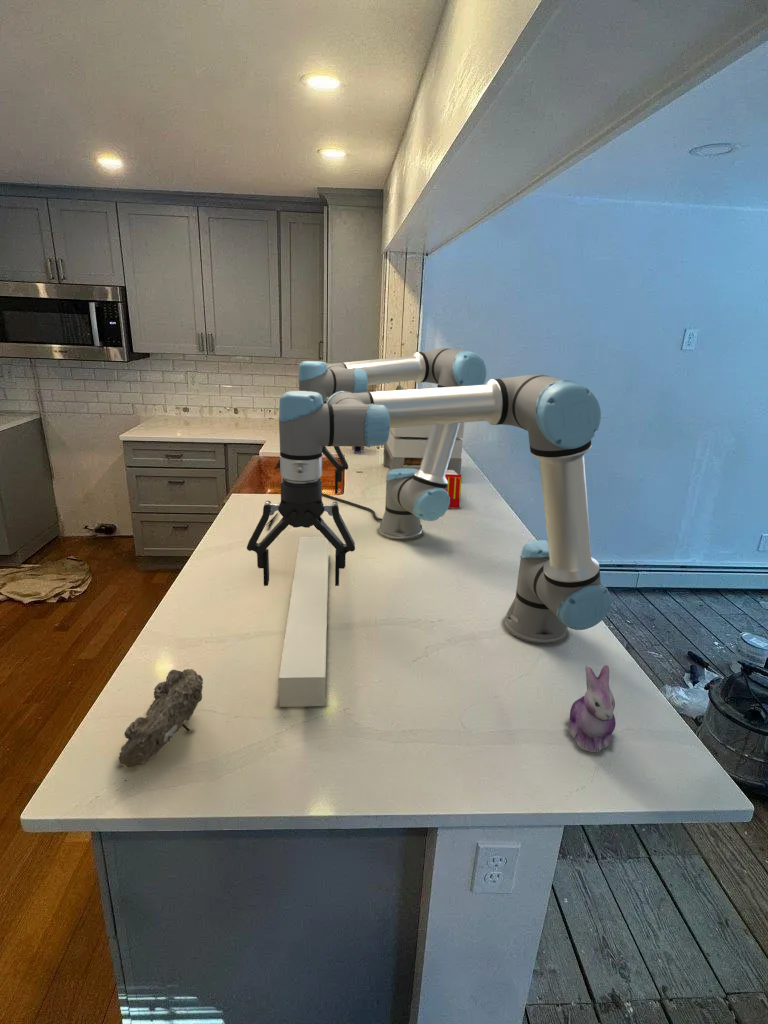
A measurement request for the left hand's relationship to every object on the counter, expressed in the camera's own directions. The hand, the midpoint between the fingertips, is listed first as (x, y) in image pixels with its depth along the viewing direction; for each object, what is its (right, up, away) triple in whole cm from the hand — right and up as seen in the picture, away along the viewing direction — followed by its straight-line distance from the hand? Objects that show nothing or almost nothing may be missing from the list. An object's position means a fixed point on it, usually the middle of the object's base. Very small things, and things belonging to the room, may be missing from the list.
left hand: (312, 492), depth 164 cm
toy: (+46, 0, +77) cm, 89 cm away
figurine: (+60, -48, -57) cm, 96 cm away
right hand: (+5, -20, -54) cm, 57 cm away
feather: (-19, -8, +46) cm, 51 cm away
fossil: (-19, -46, -60) cm, 78 cm away
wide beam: (+2, -32, -19) cm, 37 cm away
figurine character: (+6, +28, +147) cm, 150 cm away
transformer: (+38, +13, +111) cm, 118 cm away
